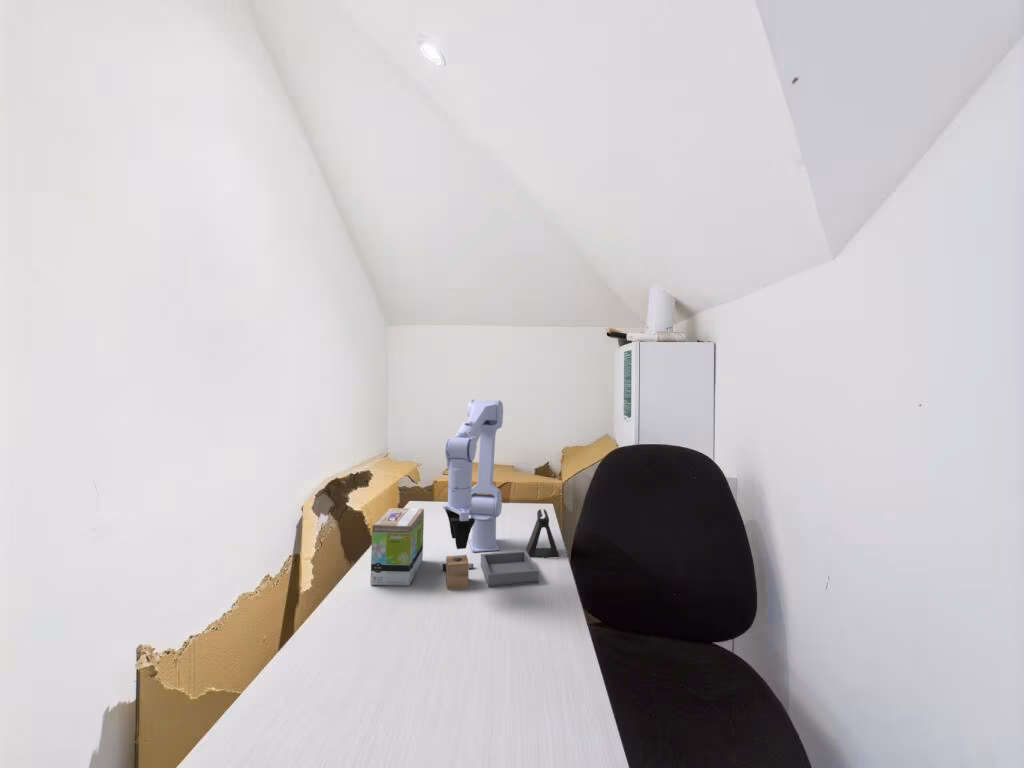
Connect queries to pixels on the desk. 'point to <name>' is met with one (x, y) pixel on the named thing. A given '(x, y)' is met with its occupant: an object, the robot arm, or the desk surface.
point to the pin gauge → (445, 566)
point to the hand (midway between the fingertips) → (458, 542)
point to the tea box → (397, 546)
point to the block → (457, 572)
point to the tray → (509, 569)
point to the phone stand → (534, 538)
